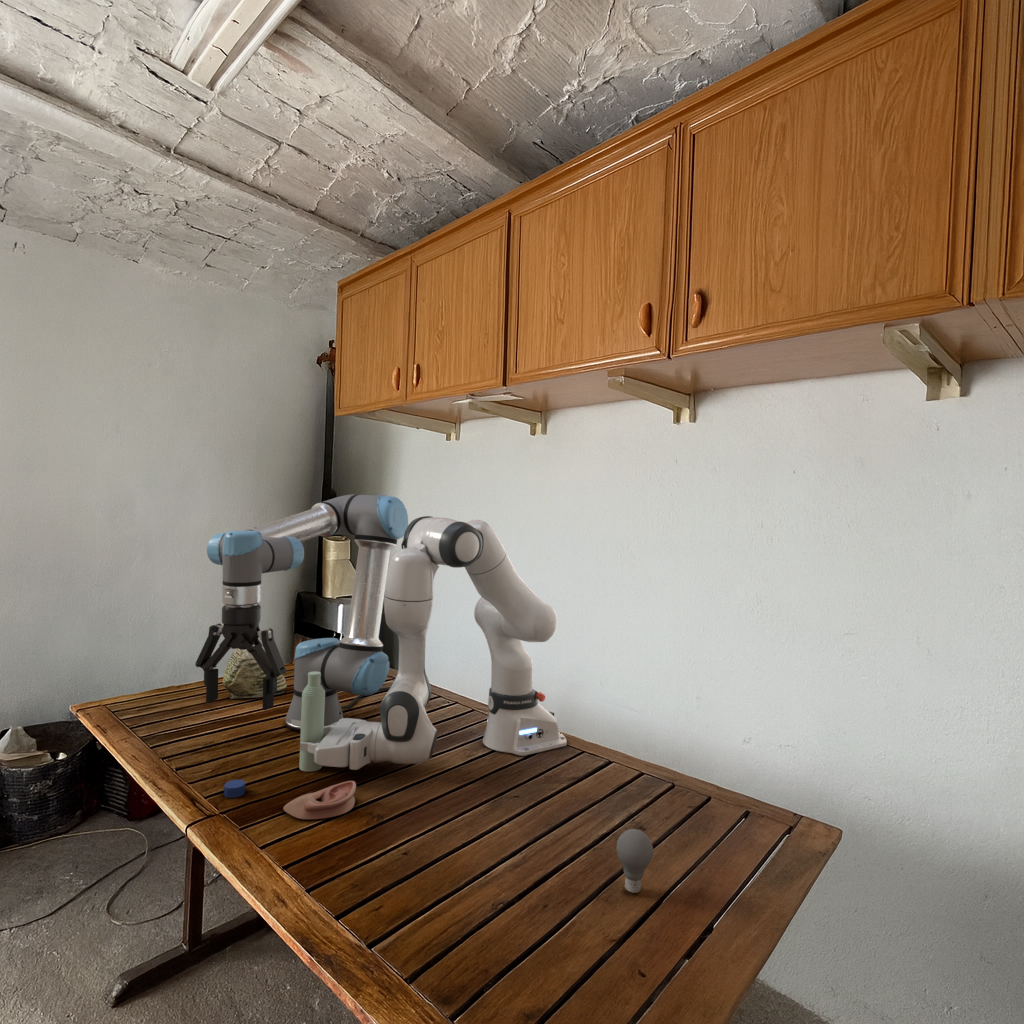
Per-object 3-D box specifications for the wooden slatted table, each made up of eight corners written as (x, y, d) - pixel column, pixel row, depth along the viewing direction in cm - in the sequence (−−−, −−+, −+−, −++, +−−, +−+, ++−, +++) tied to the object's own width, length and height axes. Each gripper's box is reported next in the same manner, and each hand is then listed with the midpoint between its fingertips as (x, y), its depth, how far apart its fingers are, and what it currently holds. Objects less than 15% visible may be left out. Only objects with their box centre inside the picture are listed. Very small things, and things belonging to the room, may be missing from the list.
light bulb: (610, 879, 108) (613, 822, 108) (644, 879, 109) (647, 822, 109) (619, 902, 102) (622, 840, 102) (655, 901, 103) (658, 840, 103)
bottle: (320, 761, 151) (323, 669, 151) (324, 769, 147) (327, 674, 146) (297, 764, 149) (301, 671, 149) (301, 773, 145) (304, 676, 144)
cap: (219, 796, 132) (220, 787, 132) (231, 788, 136) (231, 778, 136) (238, 799, 131) (238, 789, 131) (249, 790, 135) (249, 780, 135)
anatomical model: (275, 795, 125) (305, 771, 136) (274, 815, 125) (304, 789, 136) (337, 804, 122) (363, 779, 133) (336, 825, 122) (362, 798, 133)
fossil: (218, 695, 195) (220, 647, 195) (278, 685, 208) (279, 640, 207) (228, 703, 189) (230, 653, 188) (289, 692, 201) (290, 645, 201)
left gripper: (177, 602, 132) (176, 703, 133) (283, 612, 126) (281, 717, 127) (203, 597, 139) (201, 692, 140) (304, 605, 134) (302, 705, 134)
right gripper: (378, 713, 158) (323, 710, 158) (355, 744, 137) (292, 741, 138) (377, 738, 158) (322, 735, 158) (354, 773, 138) (291, 770, 138)
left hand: (239, 704), depth 134 cm, fingers open, 13 cm apart
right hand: (308, 738), depth 148 cm, fingers open, 8 cm apart
